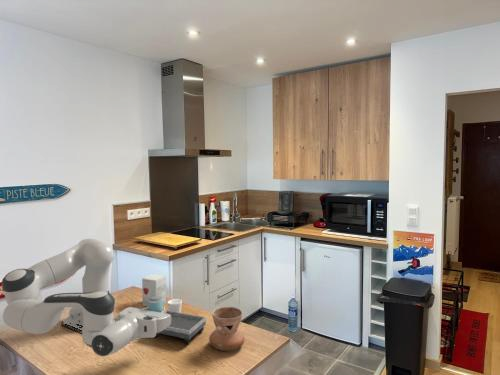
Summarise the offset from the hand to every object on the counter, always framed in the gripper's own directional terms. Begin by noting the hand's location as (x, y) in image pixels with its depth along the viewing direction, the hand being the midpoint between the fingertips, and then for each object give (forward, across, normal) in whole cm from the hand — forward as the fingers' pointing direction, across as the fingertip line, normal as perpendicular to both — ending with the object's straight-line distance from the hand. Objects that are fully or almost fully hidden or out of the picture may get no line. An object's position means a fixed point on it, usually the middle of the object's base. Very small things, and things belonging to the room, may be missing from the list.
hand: (157, 309), depth 138 cm
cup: (+29, -12, -17) cm, 35 cm away
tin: (-1, 0, -6) cm, 6 cm away
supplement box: (+39, -30, -17) cm, 52 cm away
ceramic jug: (+15, +24, -17) cm, 33 cm away
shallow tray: (+15, 0, -17) cm, 22 cm away
